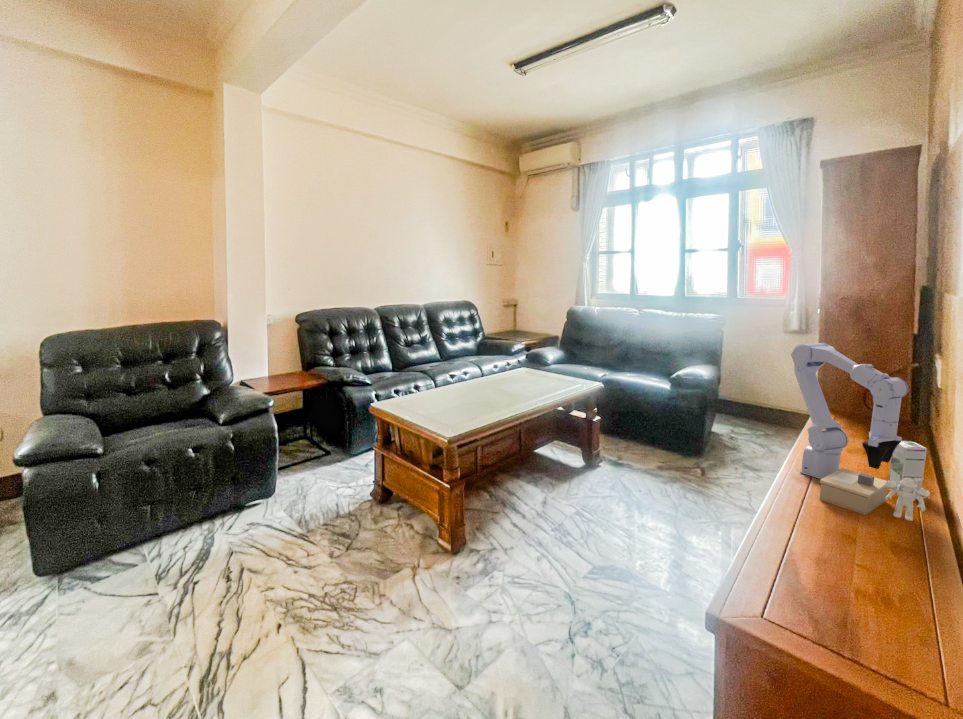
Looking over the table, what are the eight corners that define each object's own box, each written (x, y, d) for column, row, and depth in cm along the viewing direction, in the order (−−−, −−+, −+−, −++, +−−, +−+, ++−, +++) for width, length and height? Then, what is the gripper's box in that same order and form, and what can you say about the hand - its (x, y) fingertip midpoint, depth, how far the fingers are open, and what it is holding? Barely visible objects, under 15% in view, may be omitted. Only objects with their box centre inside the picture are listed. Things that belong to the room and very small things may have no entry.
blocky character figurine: (926, 520, 122) (933, 478, 120) (924, 526, 119) (931, 483, 117) (882, 508, 129) (888, 468, 127) (879, 513, 126) (885, 472, 124)
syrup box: (921, 493, 136) (929, 447, 134) (898, 492, 138) (905, 446, 135) (908, 485, 142) (915, 441, 139) (886, 484, 143) (892, 440, 140)
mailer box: (819, 499, 135) (821, 483, 134) (840, 487, 142) (842, 472, 141) (865, 515, 125) (867, 498, 124) (885, 501, 133) (887, 485, 132)
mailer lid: (819, 482, 134) (820, 471, 133) (841, 470, 141) (843, 460, 141) (868, 497, 124) (870, 486, 123) (889, 484, 131) (891, 473, 131)
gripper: (893, 428, 123) (887, 475, 126) (912, 418, 131) (905, 463, 133) (861, 421, 129) (855, 466, 132) (881, 412, 137) (875, 455, 139)
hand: (878, 464), depth 133 cm, fingers open, 7 cm apart
